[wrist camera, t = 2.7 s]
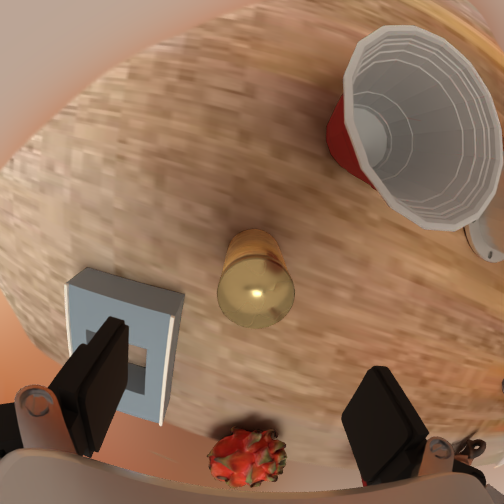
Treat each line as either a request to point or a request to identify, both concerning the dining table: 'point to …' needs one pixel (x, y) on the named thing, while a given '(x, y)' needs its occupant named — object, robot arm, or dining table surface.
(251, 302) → the brass flanged cylinder
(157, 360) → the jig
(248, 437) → the dragon fruit
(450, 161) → the plastic cup
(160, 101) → the dining table surface
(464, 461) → the pottery mug
